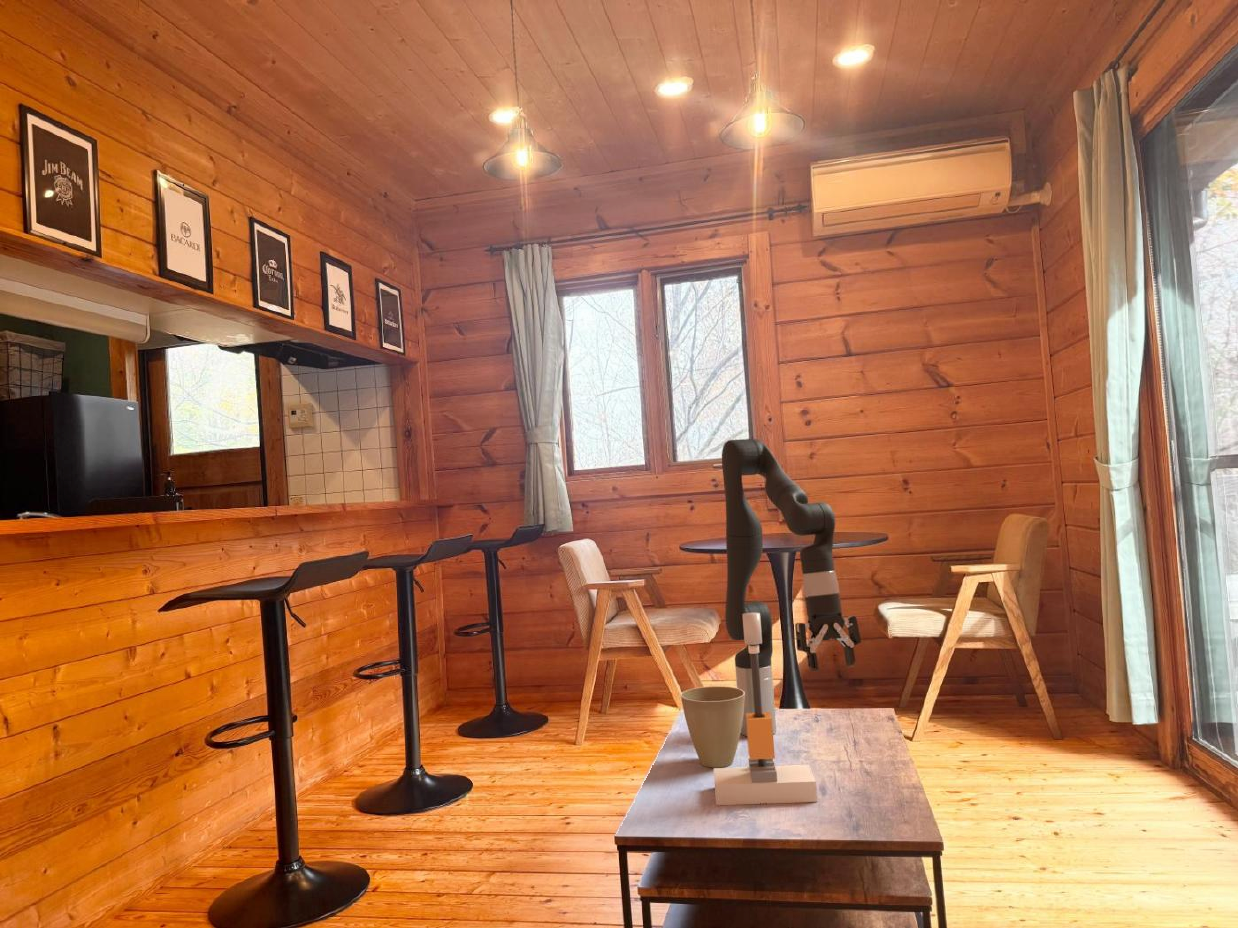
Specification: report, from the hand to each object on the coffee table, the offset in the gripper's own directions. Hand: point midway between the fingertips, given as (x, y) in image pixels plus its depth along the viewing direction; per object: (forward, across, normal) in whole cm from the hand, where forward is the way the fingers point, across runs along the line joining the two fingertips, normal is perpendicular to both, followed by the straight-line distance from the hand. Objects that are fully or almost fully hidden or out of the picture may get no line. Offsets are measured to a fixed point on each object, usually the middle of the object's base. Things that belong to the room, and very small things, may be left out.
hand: (832, 667), depth 182 cm
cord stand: (+23, +20, +1) cm, 30 cm away
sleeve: (+15, +20, +2) cm, 25 cm away
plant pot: (+20, +21, -22) cm, 36 cm away
